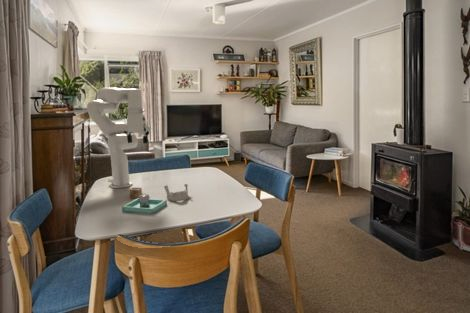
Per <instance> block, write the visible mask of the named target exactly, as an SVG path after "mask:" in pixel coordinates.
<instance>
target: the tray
mask: <svg viewBox="0 0 470 313" xmlns="http://www.w3.org/2000/svg"><path fill="white" fill-rule="evenodd" d="M167 200H168V199H159V198H149V202H150V207H148V208H141V207H140V200H139V198H137V199H132V201H130V202H128V203H126V204H125V205H122V206H121V211H122V212H123V213H124V212H125V213H133V214H135V213H136V214H146V215H147V214H148V215H153V214H155V213H156V212H158V211H160V210H161V209H163V208H164V207H165V206H167V205H168V203H167V202H168V201H167Z"/></svg>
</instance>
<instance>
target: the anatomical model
mask: <svg viewBox="0 0 470 313" xmlns="http://www.w3.org/2000/svg"><path fill="white" fill-rule="evenodd" d="M188 185H189V184H188V183H185V184H184V185H183V186H184V188H185V190H182V191H175V192H173V191H171V192H170V190H169V186H168V185H164V186H163V188H164V190H165V192H166V193H165V194H166V200H168V201H171V202H181V201H186V200H187V199H188V198H189V194H188V193H189V192H188V190H189V189H188V187H189V186H188Z"/></svg>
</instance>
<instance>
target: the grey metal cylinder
mask: <svg viewBox="0 0 470 313" xmlns="http://www.w3.org/2000/svg"><path fill="white" fill-rule="evenodd" d="M149 199H150V195H149V194H142V195H140V196H139V200H140V207H141V208H148V207H150V202H149Z"/></svg>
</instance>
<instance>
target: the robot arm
mask: <svg viewBox="0 0 470 313" xmlns="http://www.w3.org/2000/svg"><path fill="white" fill-rule="evenodd" d="M96 96H97V99H96V100H95V99H93V100H91V101H89V102H88V103H87V104H86V105H87V106H86V111H87V113H88V116H89V117H90V119H91V121H93V122H94V123H95V124H96V125H97V127H98V128H99V130H100V131H101V133H102V134H103V135H104V136H105V138H107V146H108V148H109V156H110V163H111V164H110V165H111V176H112V178H111V177H110V178H108V179H107V182H108V183H110V184H109V185H110V187H111V188H113V189H123V188H124V189H125V188H128V187H131V186H132V185H133V182H132V181H130V173H129V162H128V160H129V159H128V155H127V154H126V152H124V150H130V149H131V150H132V149H135V148H137V146H138V143H139V140H138V137H137V135H136V134H135V133H137V134H139V133H140V134H142V135H143V136H142V141H143V142H142V143H143V144H147V143H148V141H149V139H148V138H149V137H148V136H149V135H150V133H151V131H152V128H151V126H149V125H147V120H146V116H145V114H144V113H145V109H143V98H142V90H141V89H140V88H119V87H100V88H99V89H98V90H97V92H96ZM121 103H122V104H123V103H125V104H126V103H127V111H128V112H127V116H126V122H114V121H112V120H111V118H110V117H109V116H107V115H106V114H113V113H115V112H117V110H118V108H119V106H120V104H121Z"/></svg>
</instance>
